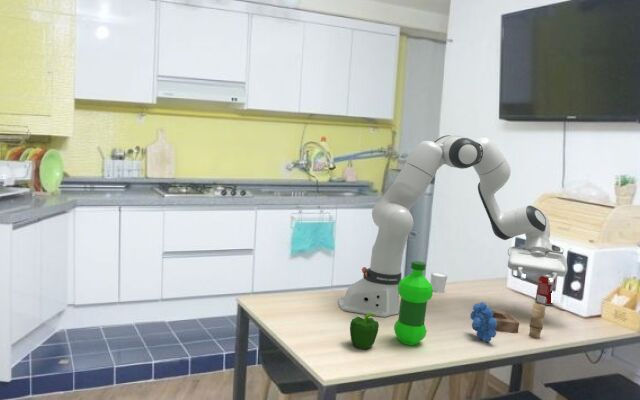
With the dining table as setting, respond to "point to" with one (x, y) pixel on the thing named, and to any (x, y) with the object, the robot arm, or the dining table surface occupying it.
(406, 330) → the plastic bottle
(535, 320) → the oak peg
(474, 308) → the grapes
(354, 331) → the bell pepper
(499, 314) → the wooden tray
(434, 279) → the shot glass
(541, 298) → the soda can
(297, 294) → the dining table surface
